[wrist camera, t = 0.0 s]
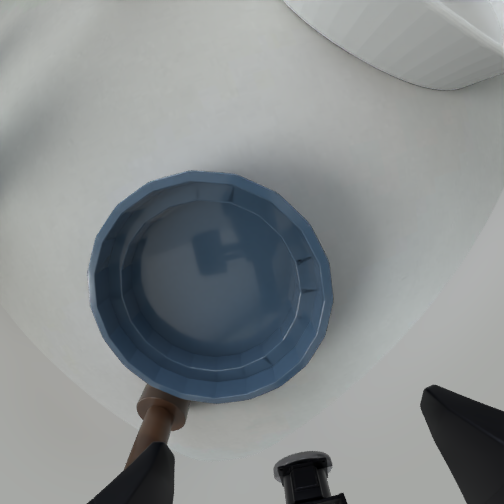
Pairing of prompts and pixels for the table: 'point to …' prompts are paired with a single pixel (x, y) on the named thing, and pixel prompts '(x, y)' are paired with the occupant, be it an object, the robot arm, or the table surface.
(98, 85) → the table surface
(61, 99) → the table surface
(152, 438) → the muddler
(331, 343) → the table surface
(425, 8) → the white wheel
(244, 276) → the bowl
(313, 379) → the table surface
